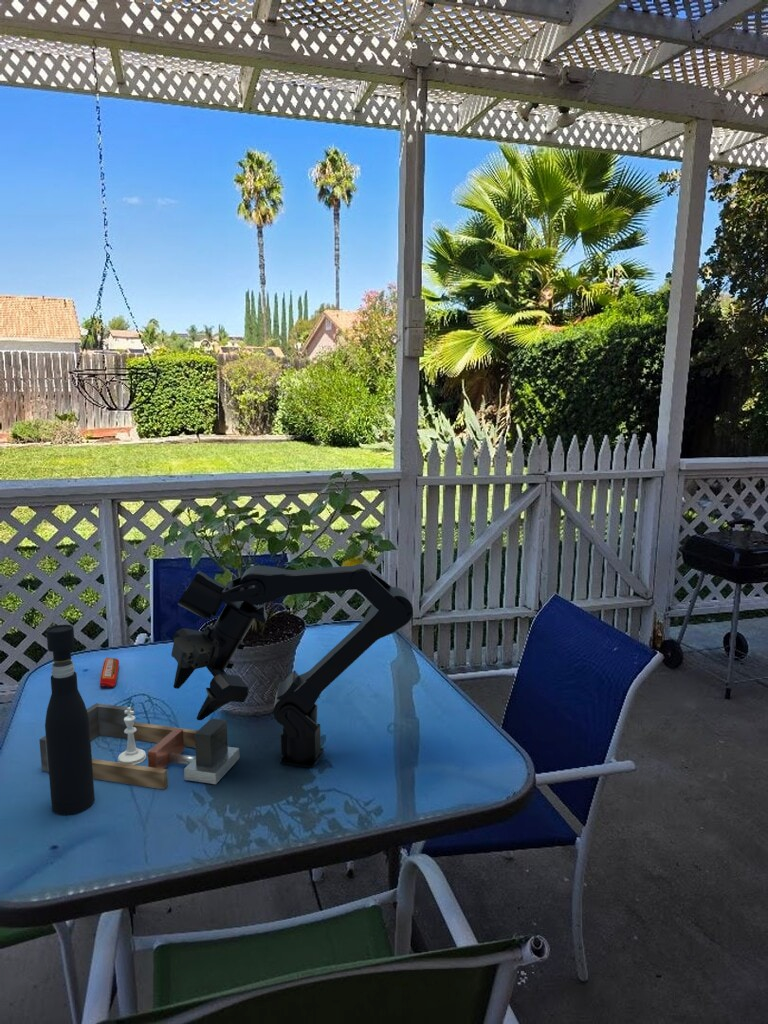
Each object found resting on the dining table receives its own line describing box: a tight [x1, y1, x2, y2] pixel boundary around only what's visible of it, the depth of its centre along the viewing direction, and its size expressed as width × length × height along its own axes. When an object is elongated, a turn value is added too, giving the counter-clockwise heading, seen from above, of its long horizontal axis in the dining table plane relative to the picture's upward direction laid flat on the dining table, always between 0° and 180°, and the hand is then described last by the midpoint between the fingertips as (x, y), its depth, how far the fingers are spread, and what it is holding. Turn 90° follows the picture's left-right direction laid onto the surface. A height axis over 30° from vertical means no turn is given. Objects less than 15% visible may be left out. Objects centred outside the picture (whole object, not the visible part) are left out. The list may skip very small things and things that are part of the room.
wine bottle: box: [44, 624, 96, 816], centre depth 109 cm, size 6×6×30 cm
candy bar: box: [99, 657, 120, 688], centre depth 164 cm, size 16×4×3 cm, turn 18°
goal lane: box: [38, 703, 199, 790], centre depth 125 cm, size 25×15×6 cm, turn 76°
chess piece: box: [117, 706, 147, 765], centre depth 125 cm, size 5×5×10 cm
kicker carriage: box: [147, 718, 240, 785], centre depth 122 cm, size 13×9×8 cm
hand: (187, 703), depth 122 cm, fingers open, 9 cm apart
